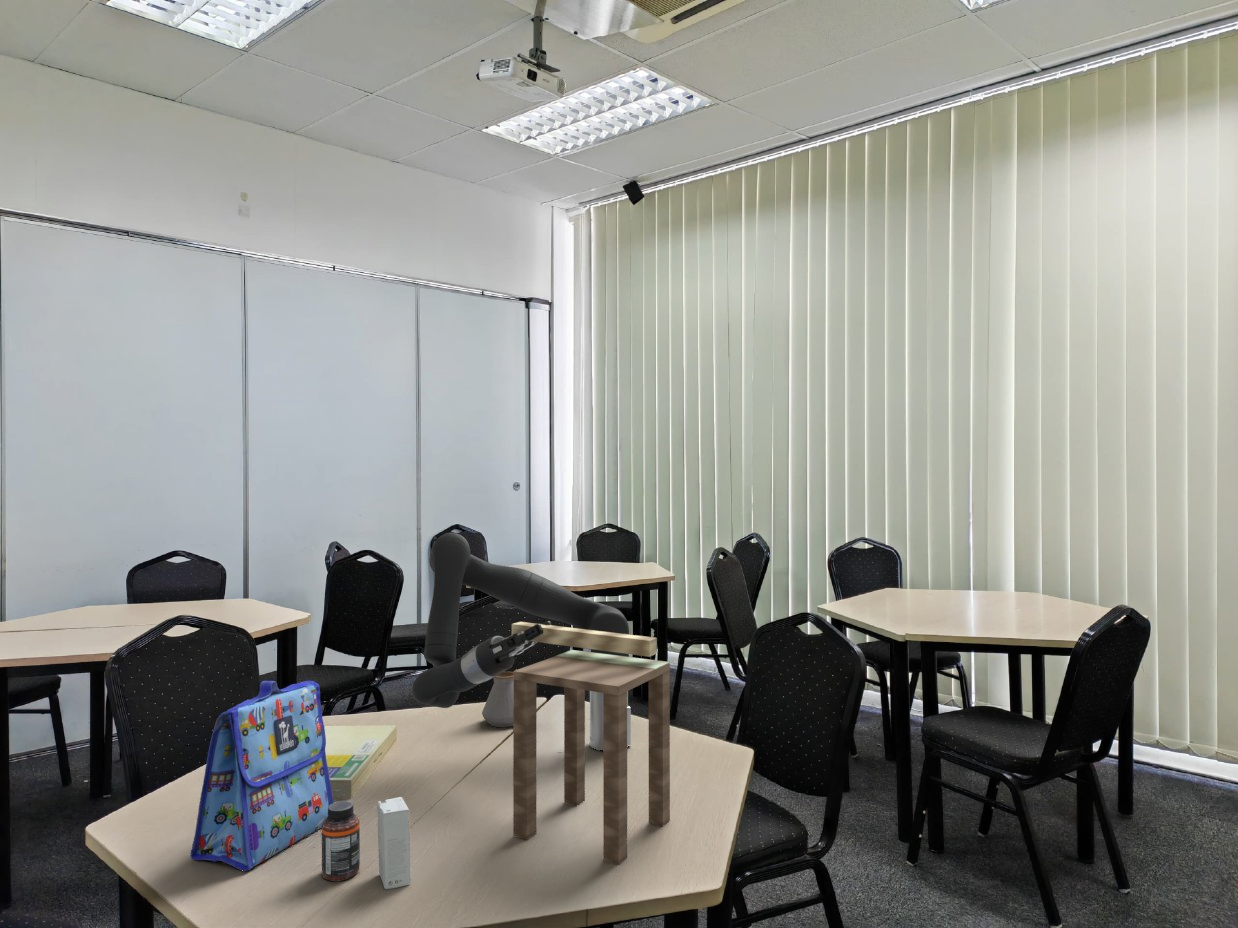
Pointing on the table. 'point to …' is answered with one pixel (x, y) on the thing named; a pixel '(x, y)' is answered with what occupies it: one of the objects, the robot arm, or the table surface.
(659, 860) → the table surface
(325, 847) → the supplement bottle
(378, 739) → the puzzle box
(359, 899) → the table surface
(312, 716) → the lunch bag
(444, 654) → the robot arm
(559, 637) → the maple rod
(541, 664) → the walnut stand
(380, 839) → the skincare box
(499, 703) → the coffee pot
